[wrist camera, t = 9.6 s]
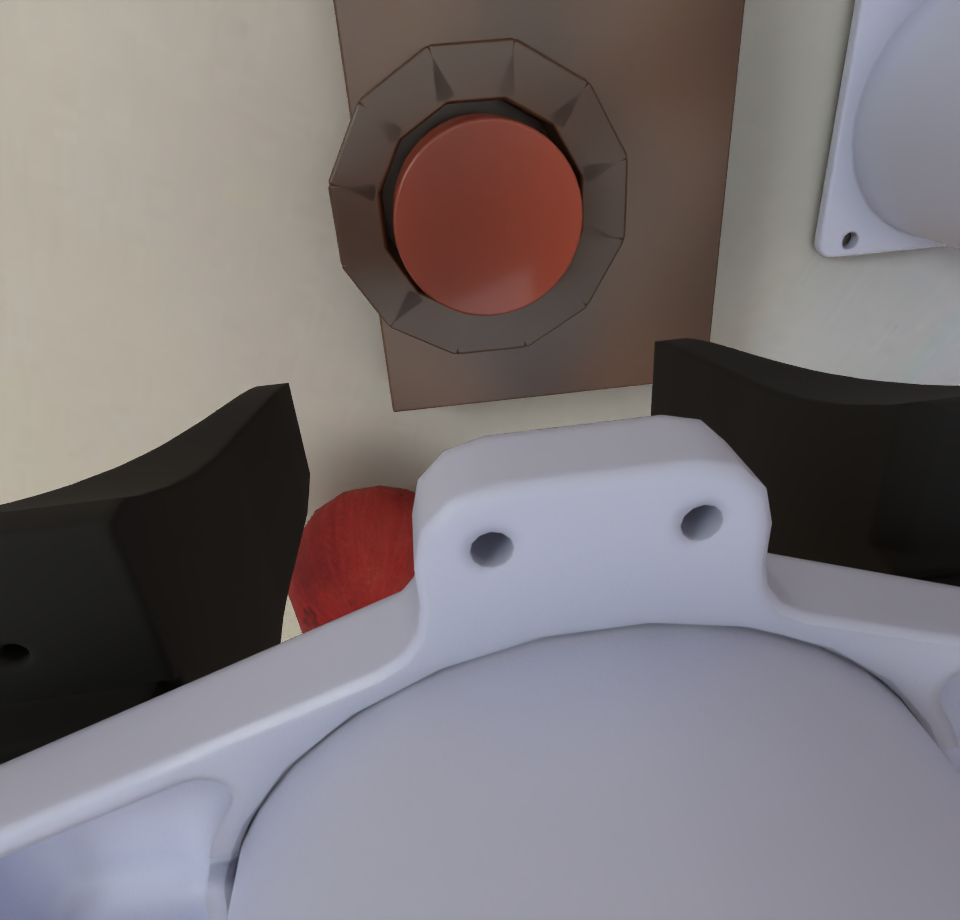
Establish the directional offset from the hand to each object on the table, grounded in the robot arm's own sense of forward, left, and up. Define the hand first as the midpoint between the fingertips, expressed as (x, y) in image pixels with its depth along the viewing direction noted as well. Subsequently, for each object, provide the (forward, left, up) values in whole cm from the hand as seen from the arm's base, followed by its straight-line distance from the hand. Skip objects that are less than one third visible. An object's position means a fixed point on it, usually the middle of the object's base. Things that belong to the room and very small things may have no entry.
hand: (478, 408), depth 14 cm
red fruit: (+3, +8, -10) cm, 13 cm away
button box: (-3, -3, -10) cm, 10 cm away
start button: (-1, -3, -6) cm, 7 cm away
